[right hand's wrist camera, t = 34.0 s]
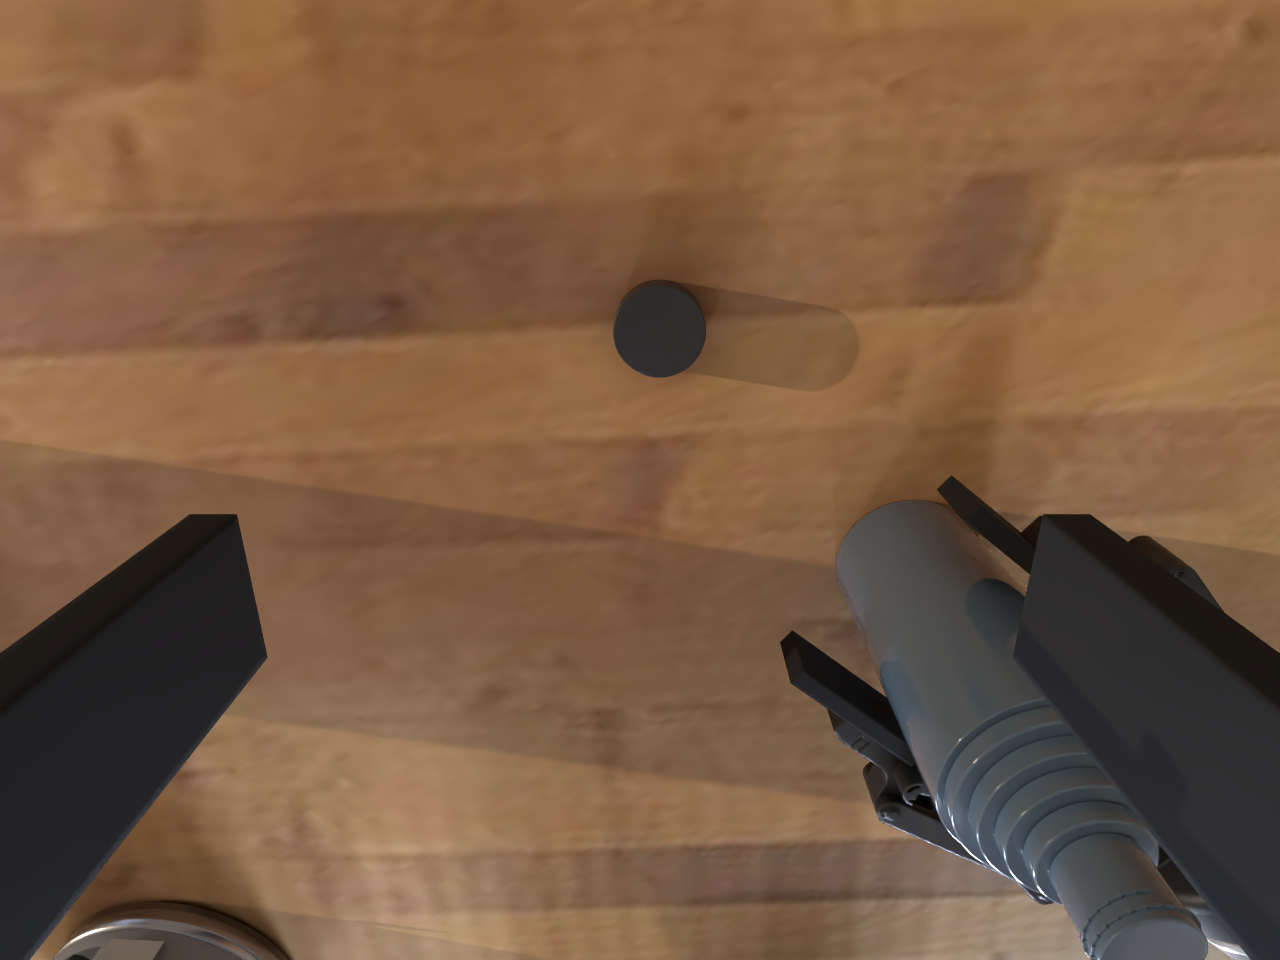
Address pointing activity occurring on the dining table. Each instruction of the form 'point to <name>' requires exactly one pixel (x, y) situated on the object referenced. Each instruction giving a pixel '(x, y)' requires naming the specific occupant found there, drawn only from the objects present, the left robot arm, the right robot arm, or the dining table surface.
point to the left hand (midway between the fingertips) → (870, 580)
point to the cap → (659, 328)
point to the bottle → (1001, 734)
